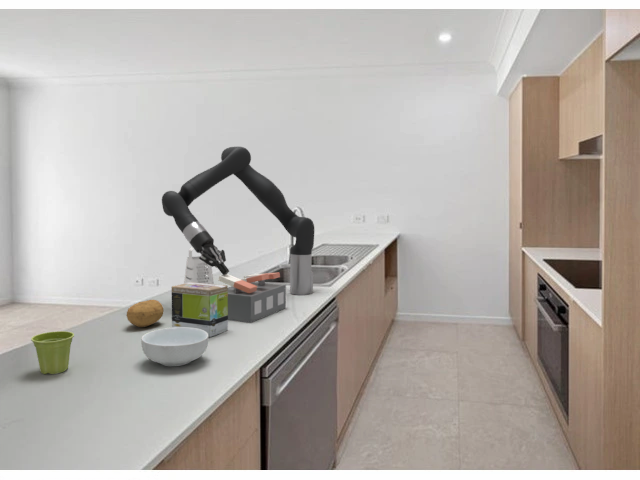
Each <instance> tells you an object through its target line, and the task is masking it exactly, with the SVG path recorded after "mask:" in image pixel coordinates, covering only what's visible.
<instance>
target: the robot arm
mask: <svg viewBox="0 0 640 480" xmlns="http://www.w3.org/2000/svg"><path fill="white" fill-rule="evenodd" d="M220 159H221V161H220V162H218V163H217V164H215V165H214V166H212V167H210V168H208V169H206V170H204V171H202V172H199V173H198V174H196V175H195V176H193V177H192V178H190V179H189V180H187V181H186V182H184V183H183V184H182V185H181V187H180V189H179V191H175V190H167V191H166V192H164V194H162V197H161V204H162V205H161V206H162V209H163V212H164V214H165V215H166V216H168V217H173V219H174V223H175V225H176V226H177V228H178V229H179V230H180V232H181V233H182V234H183V236H184V237H185V240H187V242H188V243H189V244H190V246H191V248H192V247H193V248H194V249H193V250H194V251H195V252H196V253H198V254H200V257H199V256H198V257H199V259H200V260H202V261H203V262H205V263H207V264H208V265H210V266H211V267H212V268H213V267H215V268H217V270H219V272H220V273H221V275H226V274H229V272H230V269H229V268H228V267H227V266H226V265H225V262H226V261H227V259H226V254H225V250H224V249H221V250H219V249H218V247H217V246H215V245H214V242H215V240H214V238H213V236H212V235H211V234H210V233H209V232H208V231H207V229H206V228H205V227H204V226H203V224H201V223H200V221H199V220H198V219H197V218H196V217H195V215H194V214H193V212H192V211H191V210H190V208H189V206H191V204H192V203H193V202H194V200H196V199H198V198H199V197H200V196H202V195H204V194H205V193H207V191H210V189H212V188H213V187H214V186H216V185H217V184H219V183H220V182H222V181H223V180H225V179H227V178H229V177H230V176H232V175H234V176H235V177H236V178H237V179H238V180H239V181H241V182H242V184H244V185H245V187H246V188H247V190H249V191H250V192H251V193H252V194H253V196H254V197H255V198H256V199H257V200H258V201H259V202H260V203H261V205H263V206H264V207H265V208H266V209H267V210H268V211H269V212H270V213H271V214H272V215H273V216H274V217H275V218H276V219H277V220H278V221H279V223H280V224H281V225H282V226H283V228H284V229H285V231H287V233H288V234H289V235H290V236H292V237H293V238H295V244H294V245H293V246H291V247H290V257H289V258H290V259H289V260H290V261H289V263H290V264H289V269H290V270H289V294H291V295H297V296H298V295H299V296H303V295H304V296H305V294H306V295H310V294H313V293H314V271H312V260H313V259H312V256H313V255H312V254H313V253H312V252H313V249H314V243H315V224H314V221H313V220H312V219H311V218H309V217H304V216H299V215H297V214H296V213H295V212H294V211H293V210H292V209H291V208H290V207H289V206H288V204H287V201H286V197H285V195H284V193H283V192H282V191H281V190H280V188H278V186H276V185H275V184H276V183H274V182H273V181H272V180H271V179H269V178H268V177H266V176H265V175H263V174H261V173H260V172H258V171H257V170H255V169H254V168H253V167H252V165H250V164H251V160H252V154H251V153H250V151H249V150H248V149H247V148H246V147H243V146H230V147H227V148H225V149H224V150H223V151H222V153H221V157H220ZM312 292H313V293H312ZM309 293H310V294H309Z"/></svg>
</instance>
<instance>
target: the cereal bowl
mask: <svg viewBox="0 0 640 480" xmlns="http://www.w3.org/2000/svg"><path fill="white" fill-rule="evenodd" d="M140 340H141V341H140V342H141V347H142V348H141V349H142V351H143V354H144V355H145V357H146V358H148V360H151V361H153V362H155V363H158V364H161V365H162V366H165V367H179V366H184V365H188V364H190V363H191V362H193V361H195V360H197V359H199V358H200V357H202V355H204V353H205V352H206V351H207V348H208V347H209V345H208V344H209V337H208V333H207V332H206V331H204V330H201V329H197V328H190V327H173V328H172V327H165V328H159V329H155V330H152V331H149V332H147V333H145V334H143V335H142V336H141V339H140Z"/></svg>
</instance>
